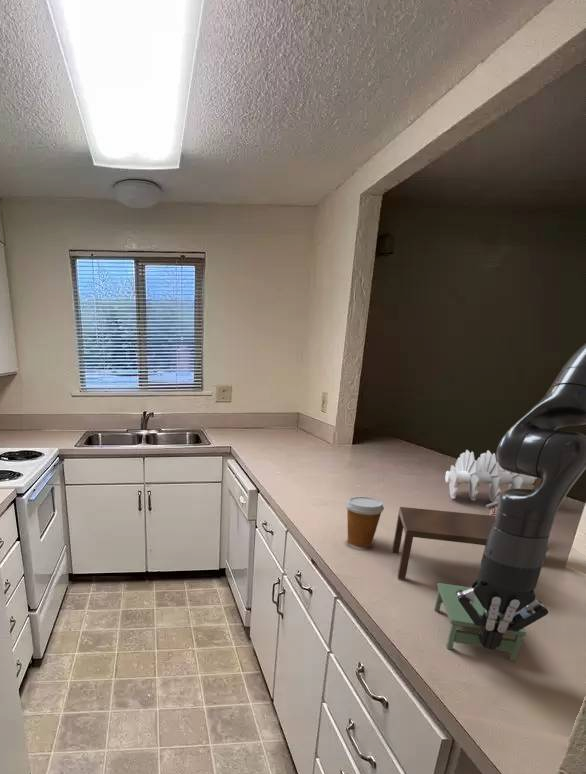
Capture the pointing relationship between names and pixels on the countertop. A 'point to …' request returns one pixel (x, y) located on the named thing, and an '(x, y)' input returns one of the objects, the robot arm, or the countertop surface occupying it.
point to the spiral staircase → (483, 475)
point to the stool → (470, 621)
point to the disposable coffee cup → (363, 519)
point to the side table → (438, 529)
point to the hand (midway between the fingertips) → (487, 646)
